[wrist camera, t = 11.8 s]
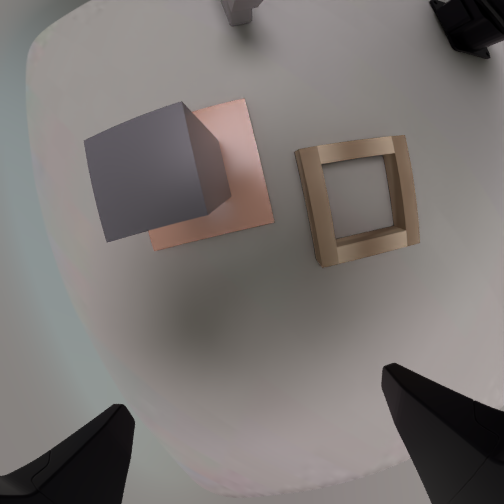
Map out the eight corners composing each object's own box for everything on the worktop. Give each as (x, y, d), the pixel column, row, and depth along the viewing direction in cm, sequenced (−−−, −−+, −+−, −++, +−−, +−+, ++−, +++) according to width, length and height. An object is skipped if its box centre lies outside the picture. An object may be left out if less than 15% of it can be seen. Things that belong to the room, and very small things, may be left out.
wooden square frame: (392, 138, 18) (404, 135, 16) (407, 237, 20) (420, 242, 18) (294, 152, 18) (299, 149, 16) (316, 259, 20) (322, 267, 18)
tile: (244, 100, 17) (244, 98, 17) (273, 221, 20) (274, 222, 19) (128, 136, 18) (125, 135, 17) (156, 249, 20) (154, 251, 20)
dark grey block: (218, 140, 18) (181, 101, 8) (231, 196, 19) (208, 215, 9) (163, 156, 18) (83, 140, 8) (176, 210, 19) (106, 242, 9)
